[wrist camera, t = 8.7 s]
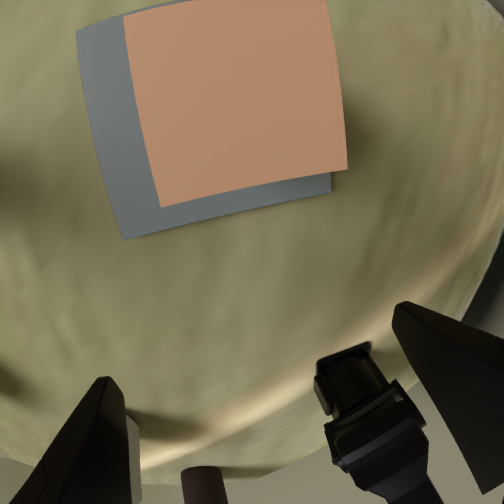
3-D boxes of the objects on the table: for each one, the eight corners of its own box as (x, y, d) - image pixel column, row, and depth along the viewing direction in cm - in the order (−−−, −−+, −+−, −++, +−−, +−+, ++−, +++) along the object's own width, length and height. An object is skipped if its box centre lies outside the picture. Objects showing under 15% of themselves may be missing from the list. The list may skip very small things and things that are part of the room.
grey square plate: (299, -3, 13) (305, -8, 12) (325, 188, 20) (332, 192, 19) (80, 34, 11) (75, 30, 10) (125, 234, 18) (123, 241, 17)
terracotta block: (270, 35, 9) (324, -4, 5) (287, 145, 12) (347, 169, 7) (147, 54, 9) (123, 16, 4) (170, 169, 11) (161, 207, 7)
